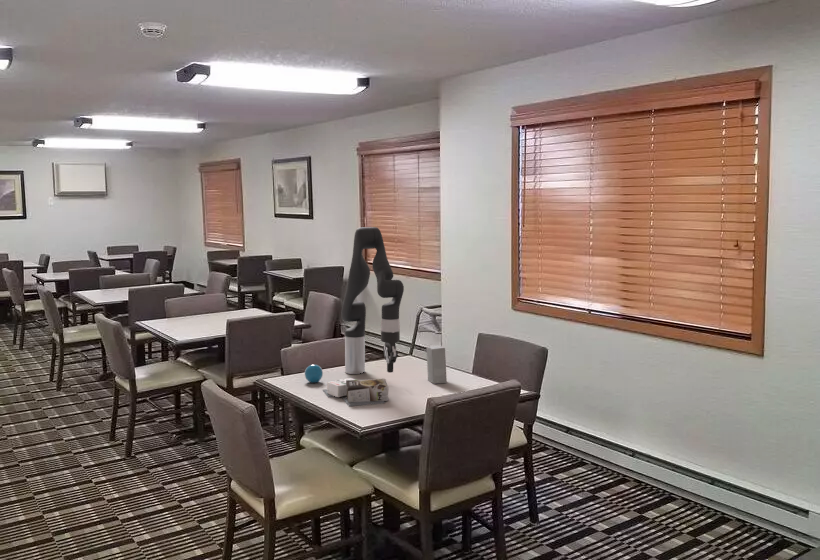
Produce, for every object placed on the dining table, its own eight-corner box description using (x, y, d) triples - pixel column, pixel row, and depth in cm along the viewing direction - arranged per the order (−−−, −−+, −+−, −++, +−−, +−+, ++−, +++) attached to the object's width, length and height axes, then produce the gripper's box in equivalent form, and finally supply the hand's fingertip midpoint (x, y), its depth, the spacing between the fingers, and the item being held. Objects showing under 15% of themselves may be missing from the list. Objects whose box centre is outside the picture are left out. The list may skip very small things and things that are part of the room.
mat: (322, 390, 289) (322, 389, 289) (367, 386, 296) (367, 385, 296) (336, 407, 265) (336, 406, 265) (385, 403, 271) (385, 402, 271)
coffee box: (388, 385, 272) (347, 387, 269) (388, 401, 273) (347, 403, 270) (385, 378, 281) (345, 379, 278) (385, 392, 282) (345, 394, 279)
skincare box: (447, 383, 302) (447, 348, 301) (431, 384, 300) (431, 348, 299) (440, 378, 310) (441, 344, 309) (425, 379, 308) (425, 345, 307)
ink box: (361, 381, 284) (338, 385, 276) (362, 392, 284) (338, 397, 277) (349, 377, 290) (326, 381, 283) (349, 388, 291) (326, 393, 283)
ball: (310, 379, 308) (310, 361, 307) (326, 381, 305) (326, 363, 304) (301, 383, 301) (300, 365, 300) (316, 385, 297) (316, 367, 297)
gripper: (376, 327, 280) (376, 369, 281) (386, 333, 267) (386, 376, 269) (394, 326, 282) (393, 367, 284) (404, 331, 270) (404, 375, 271)
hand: (390, 372), depth 276 cm, fingers closed
